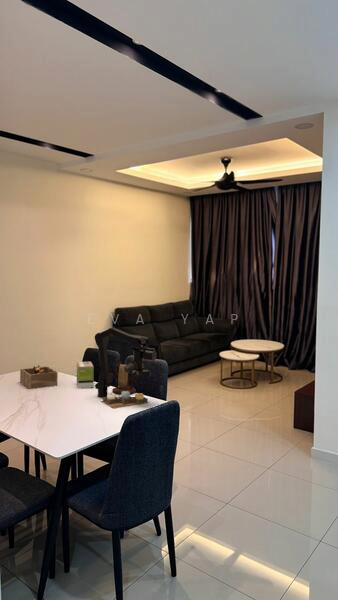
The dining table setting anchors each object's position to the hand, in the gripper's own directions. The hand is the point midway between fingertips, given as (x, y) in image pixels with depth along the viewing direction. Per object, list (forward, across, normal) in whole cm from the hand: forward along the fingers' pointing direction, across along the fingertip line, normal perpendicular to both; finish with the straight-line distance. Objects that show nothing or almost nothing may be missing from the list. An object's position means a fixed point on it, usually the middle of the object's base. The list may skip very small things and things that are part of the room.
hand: (137, 385), depth 240 cm
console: (+11, -3, -6) cm, 13 cm away
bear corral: (+11, -70, -33) cm, 79 cm away
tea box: (+11, -52, -8) cm, 54 cm away
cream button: (+9, -7, -13) cm, 17 cm away
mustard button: (+9, +1, +1) cm, 9 cm away
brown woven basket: (+11, -22, +4) cm, 25 cm away
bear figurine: (+12, -70, -32) cm, 78 cm away
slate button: (+8, -3, -6) cm, 10 cm away
